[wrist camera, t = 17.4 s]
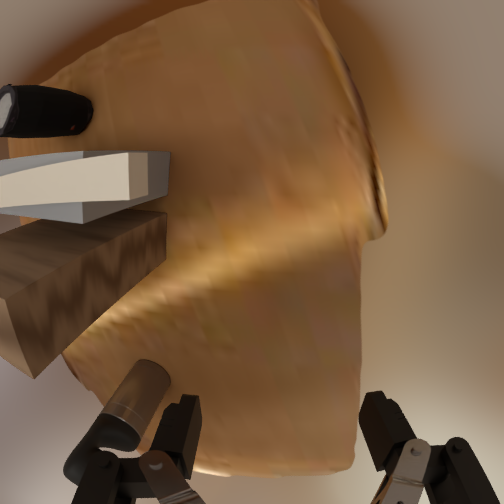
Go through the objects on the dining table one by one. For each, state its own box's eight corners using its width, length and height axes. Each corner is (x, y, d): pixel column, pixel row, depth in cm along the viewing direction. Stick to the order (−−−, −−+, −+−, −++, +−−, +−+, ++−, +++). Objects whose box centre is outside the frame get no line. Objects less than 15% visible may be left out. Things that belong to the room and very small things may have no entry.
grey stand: (167, 195, 43) (82, 223, 23) (84, 189, 45) (-3, 212, 25) (170, 151, 41) (83, 151, 21) (86, 152, 43) (-4, 161, 23)
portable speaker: (100, 122, 40) (17, 116, 22) (67, 145, 43) (-11, 152, 24) (91, 85, 38) (14, 68, 20) (60, 110, 40) (-15, 106, 22)
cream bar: (148, 194, 22) (129, 200, 19) (-5, 204, 25) (-20, 209, 22) (147, 152, 21) (128, 152, 18) (-6, 179, 24) (-22, 183, 21)
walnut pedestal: (166, 259, 47) (34, 379, 16) (86, 245, 48) (-42, 320, 18) (166, 213, 44) (4, 299, 14) (84, 205, 46) (-59, 260, 16)
